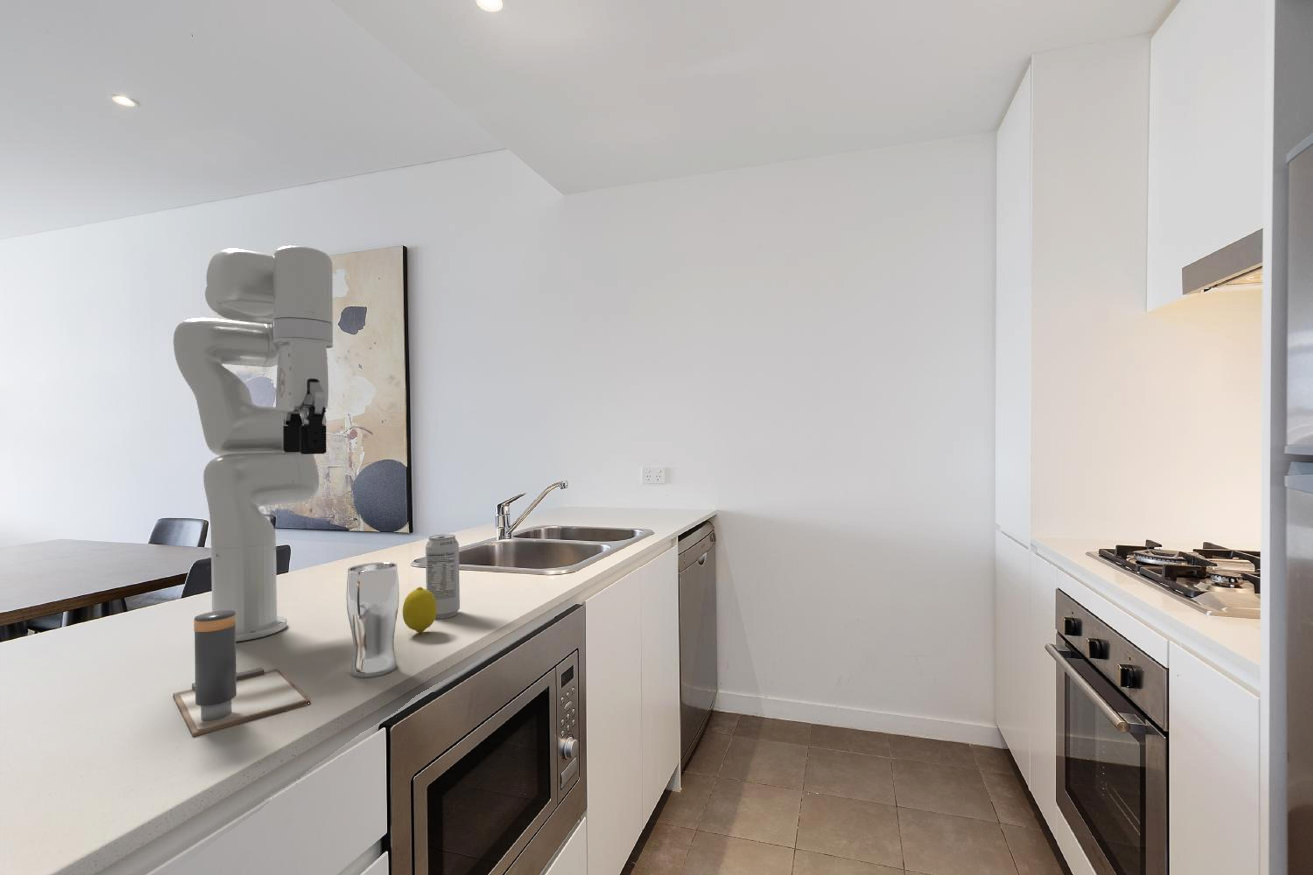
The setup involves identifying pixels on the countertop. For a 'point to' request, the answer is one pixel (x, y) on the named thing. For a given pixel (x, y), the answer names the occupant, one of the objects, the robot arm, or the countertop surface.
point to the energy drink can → (443, 573)
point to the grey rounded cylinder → (215, 663)
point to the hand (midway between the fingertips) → (304, 452)
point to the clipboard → (245, 700)
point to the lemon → (419, 609)
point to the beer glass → (373, 617)
